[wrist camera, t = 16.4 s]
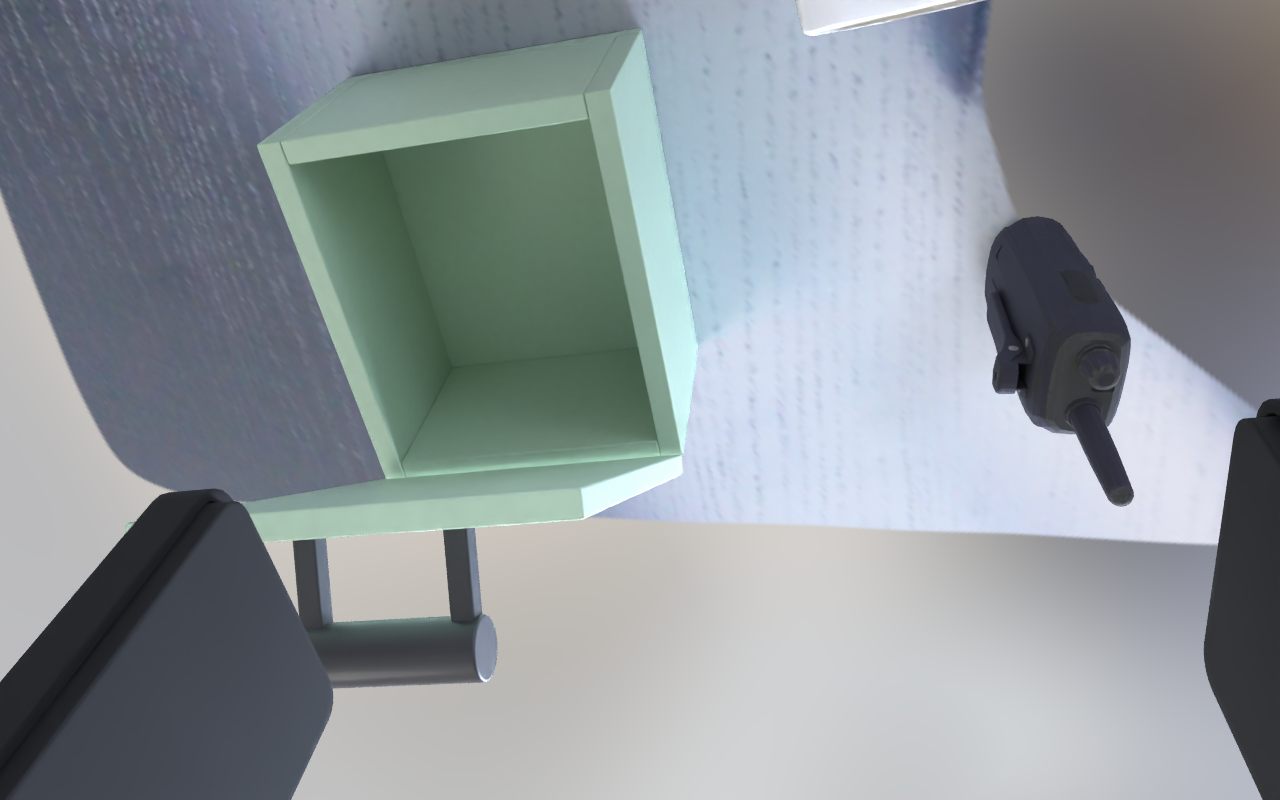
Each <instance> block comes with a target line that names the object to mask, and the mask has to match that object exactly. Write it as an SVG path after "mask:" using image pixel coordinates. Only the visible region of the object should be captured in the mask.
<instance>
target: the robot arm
mask: <svg viewBox="0 0 1280 800" xmlns="http://www.w3.org/2000/svg"><path fill="white" fill-rule="evenodd" d="M1204 661H1205V667H1206V672H1207V676H1208V680H1209V683H1210V685H1211V688H1212V691H1213V693H1214V695H1215V697H1216V699H1217V701H1218V704H1219V706H1220V708H1221V710H1222V712H1223V714H1224V717H1225V719H1226V721H1227V723H1228V725H1229V727H1230V730H1231V732H1232V734H1233V736H1234V738H1235V740H1236V743H1237V745H1238V747H1239V749H1240V751H1241V753H1242V756H1243V758H1244V760H1245V762H1246V764H1247V767H1248V769H1249V771H1250V773H1251V775H1252V777H1253V780H1254V782H1255V784H1256V786H1257V788H1258V791H1259V793H1260V795H1261V797H1262V799H1263V800H1280V399H1269V400H1267V401H1265V402H1263V403H1262V405H1261V407H1260V408H1259V410H1258V413H1257V417H1256V418H1246V419H1242V420H1240V421H1239V422H1238V424H1237V426H1236V428H1235V432H1234V438H1233V445H1232V452H1231V459H1230V466H1229V473H1228V480H1227V487H1226V494H1225V501H1224V508H1223V515H1222V522H1221V529H1220V536H1219V543H1218V550H1217V557H1216V564H1215V571H1214V578H1213V585H1212V592H1211V599H1210V606H1209V613H1208V620H1207V627H1206V634H1205V641H1204ZM332 705H333V691H332V685H331V682H330V679H329V677H328V675H327V673H326V671H325V669H324V667H323V665H322V663H321V661H320V659H319V657H318V654H317V652H316V650H315V648H314V646H313V644H312V642H311V640H310V638H309V636H308V634H307V632H306V630H305V628H304V626H303V624H302V622H301V619H300V617H299V616H298V613H297V612H296V609H295V607H294V605H293V603H292V601H291V599H290V597H289V595H288V593H287V591H286V589H285V587H284V585H283V583H282V580H281V579H280V576H279V574H278V572H277V570H276V568H275V566H274V564H273V562H272V560H271V558H270V556H269V554H268V552H267V550H266V548H265V546H264V543H263V541H262V539H261V537H260V535H259V533H258V531H257V529H256V527H255V525H254V523H253V521H252V519H251V517H250V515H249V513H248V511H247V510H246V508H245V507H244V506H243V505H242V504H241V503H239V502H235V501H233V500H232V499H231V497H230V496H229V495H228V494H227V493H225V492H224V491H223V490H219V489H204V490H192V491H181V492H169V493H166V494H162V495H160V496H159V497H158V498H156V499H155V500H154V501H153V502H152V503H151V504H150V505H149V506H148V508H147V509H146V510H145V511H144V512H143V514H142V515H141V516H140V517H139V518H138V519H137V521H136V522H135V523H134V524H133V525H132V527H131V528H130V529H129V530H128V531H127V533H126V534H125V535H124V536H123V538H121V540H120V541H119V542H118V543H117V544H116V546H115V547H114V548H113V549H112V550H111V551H110V553H109V554H108V555H107V556H106V557H105V559H104V560H103V561H102V562H101V563H100V564H99V566H98V567H97V568H96V569H95V571H94V572H93V573H92V574H91V575H90V576H89V578H88V579H87V580H86V581H85V582H84V583H83V585H82V586H81V587H80V588H79V589H78V591H77V592H76V593H75V594H74V595H73V597H72V598H71V599H70V600H69V601H68V603H67V604H66V605H65V606H64V607H63V608H62V609H61V611H60V612H59V613H58V614H57V615H56V617H55V618H54V619H53V620H52V621H51V623H50V624H49V625H48V626H47V627H46V628H45V630H44V631H43V632H42V633H41V634H40V636H39V637H38V638H37V639H36V640H35V642H34V643H33V644H32V645H31V646H30V647H29V649H28V650H27V651H26V652H25V653H24V654H23V656H22V657H21V658H20V659H19V660H18V662H17V663H16V664H15V665H14V666H13V668H12V669H11V670H10V671H9V672H8V673H7V675H6V676H5V677H4V678H3V679H2V681H1V682H0V800H291V799H292V796H293V794H294V792H295V790H296V788H297V786H298V784H299V781H300V779H301V777H302V775H303V773H304V771H305V769H306V767H307V765H308V762H309V760H310V758H311V756H312V754H313V752H314V750H315V748H316V745H317V743H318V741H319V739H320V737H321V735H322V733H323V731H324V728H325V726H326V724H327V722H328V720H329V717H330V714H331V711H332Z"/></svg>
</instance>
